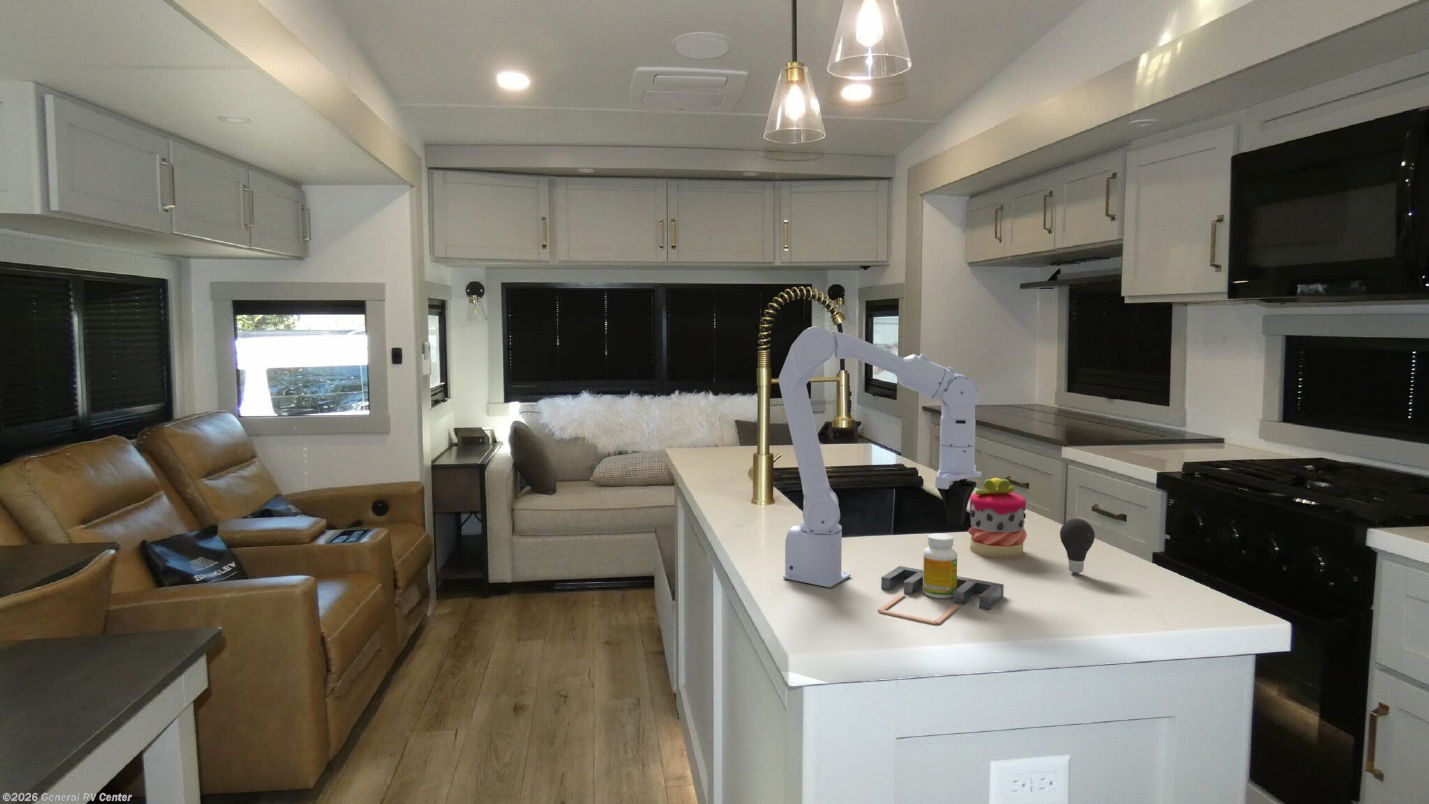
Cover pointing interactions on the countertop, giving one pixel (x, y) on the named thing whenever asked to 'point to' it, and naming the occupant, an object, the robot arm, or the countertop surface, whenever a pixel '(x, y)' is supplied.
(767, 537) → the countertop surface
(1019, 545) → the cake
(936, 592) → the supplement bottle
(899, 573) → the rail
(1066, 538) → the light bulb
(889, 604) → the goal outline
